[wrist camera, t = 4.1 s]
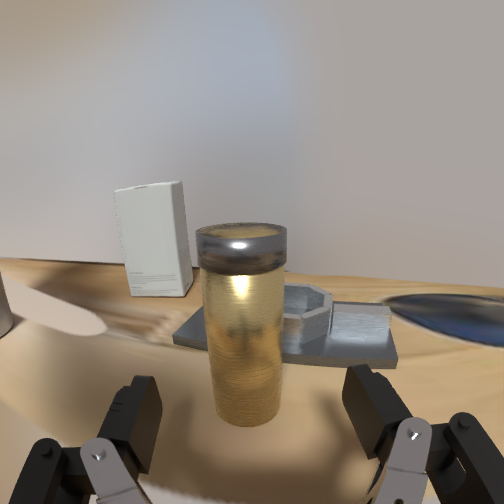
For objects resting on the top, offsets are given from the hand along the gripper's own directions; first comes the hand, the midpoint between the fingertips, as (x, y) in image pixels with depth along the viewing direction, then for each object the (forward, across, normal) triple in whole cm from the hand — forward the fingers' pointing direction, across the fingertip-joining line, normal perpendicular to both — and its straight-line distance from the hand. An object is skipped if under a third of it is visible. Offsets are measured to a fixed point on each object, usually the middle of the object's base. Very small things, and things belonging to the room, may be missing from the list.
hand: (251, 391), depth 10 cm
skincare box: (+28, +11, +7) cm, 30 cm away
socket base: (+15, -5, +6) cm, 17 cm away
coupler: (+5, 0, +6) cm, 8 cm away
